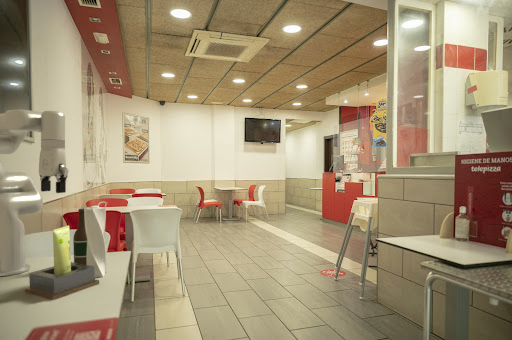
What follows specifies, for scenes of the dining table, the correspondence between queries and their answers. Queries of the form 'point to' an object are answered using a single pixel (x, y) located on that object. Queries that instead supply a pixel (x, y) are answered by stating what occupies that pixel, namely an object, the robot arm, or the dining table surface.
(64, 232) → the tube
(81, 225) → the beer bottle
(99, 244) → the skyscraper
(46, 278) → the grey open tray box
